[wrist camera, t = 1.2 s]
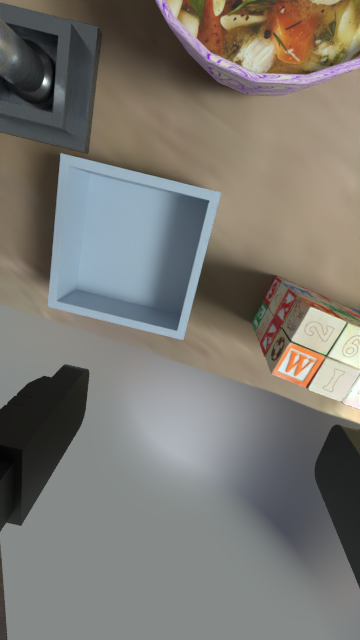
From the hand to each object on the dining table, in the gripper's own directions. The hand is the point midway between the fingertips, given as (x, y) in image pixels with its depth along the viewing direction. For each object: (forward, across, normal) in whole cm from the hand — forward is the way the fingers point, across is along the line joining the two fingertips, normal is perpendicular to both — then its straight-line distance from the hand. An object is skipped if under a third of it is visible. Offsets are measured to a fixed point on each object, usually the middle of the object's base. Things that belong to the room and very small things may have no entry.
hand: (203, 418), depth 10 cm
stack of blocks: (+26, -17, +4) cm, 31 cm away
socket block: (+26, +19, -15) cm, 35 cm away
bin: (+26, +8, -1) cm, 27 cm away
